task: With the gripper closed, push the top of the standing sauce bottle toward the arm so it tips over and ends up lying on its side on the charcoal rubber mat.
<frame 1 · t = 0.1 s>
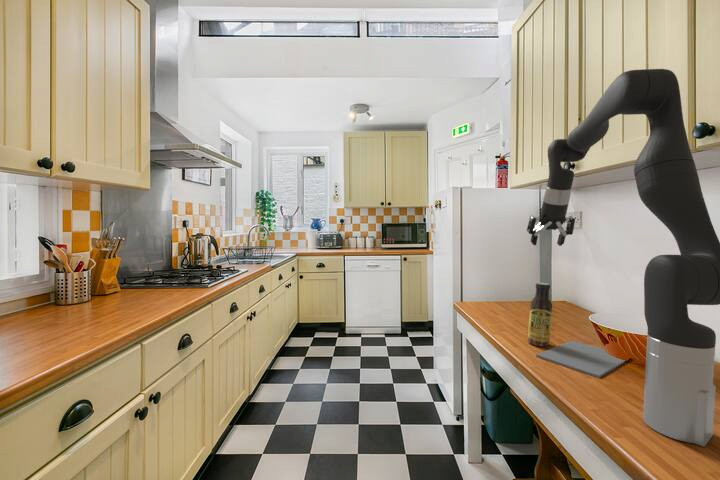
hand: (546, 244, 118), 32 cm above the counter, tool tilted 20°, fingers open, 8 cm apart
sauce bottle: (538, 344, 108), on the counter
mat: (583, 357, 97), on the counter
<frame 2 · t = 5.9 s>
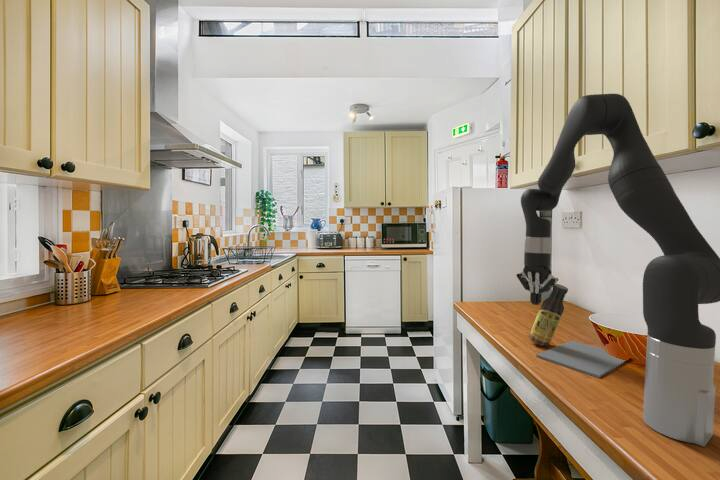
hand: (535, 304, 108), 13 cm above the counter, tool pointing down, fingers closed
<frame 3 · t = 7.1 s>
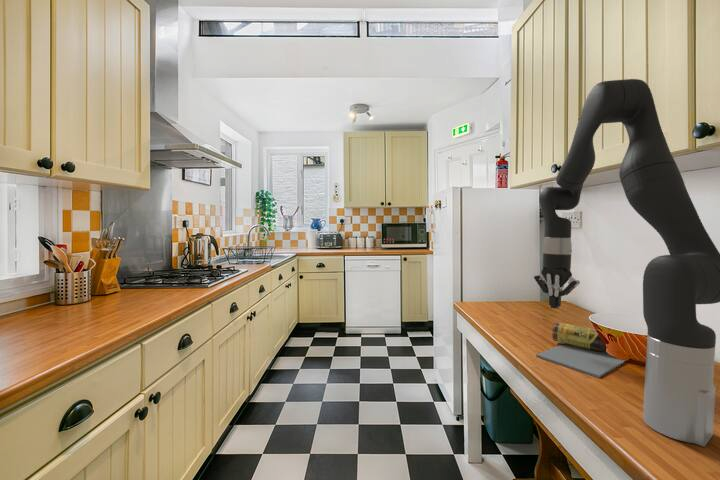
hand: (554, 307, 103), 13 cm above the counter, tool pointing down, fingers closed
sauce bottle: (552, 331, 109), point 4 cm above the counter, touching mat
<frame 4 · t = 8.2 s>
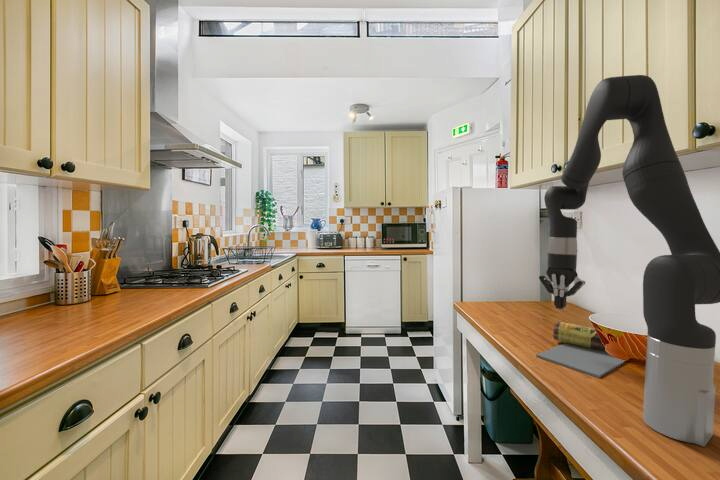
hand: (560, 308, 102), 13 cm above the counter, tool pointing down, fingers closed
sauce bottle: (553, 330, 110), point 4 cm above the counter, touching mat
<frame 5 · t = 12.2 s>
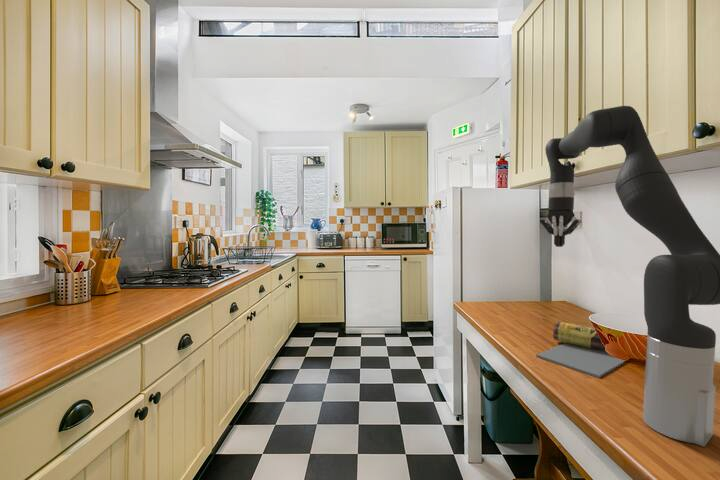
hand: (559, 246, 116), 31 cm above the counter, tool pointing down, fingers closed
nothing on the counter moved.
at the end: sauce bottle tilted 91°; sauce bottle touching mat; sauce bottle inside the target area (9.1 cm from its centre), point 3.8 cm above the counter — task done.
